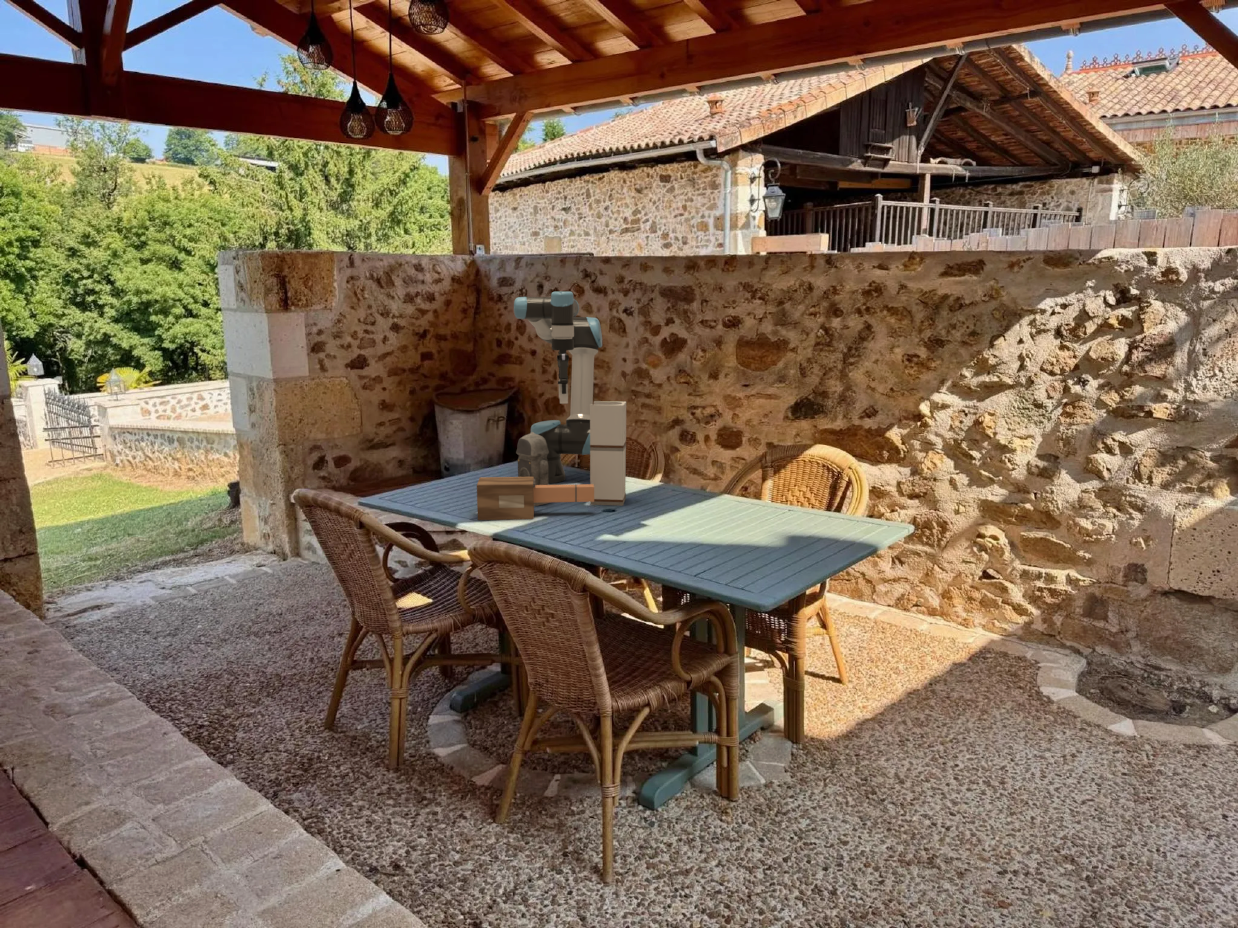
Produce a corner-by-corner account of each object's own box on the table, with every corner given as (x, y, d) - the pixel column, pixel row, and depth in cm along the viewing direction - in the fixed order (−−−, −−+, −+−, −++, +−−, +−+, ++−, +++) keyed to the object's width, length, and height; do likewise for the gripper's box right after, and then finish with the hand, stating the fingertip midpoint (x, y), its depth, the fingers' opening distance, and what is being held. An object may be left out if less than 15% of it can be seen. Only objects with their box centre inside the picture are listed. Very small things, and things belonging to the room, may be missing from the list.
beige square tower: (625, 498, 297) (626, 401, 290) (622, 505, 286) (623, 405, 279) (594, 497, 298) (594, 401, 291) (590, 504, 287) (590, 404, 280)
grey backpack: (535, 507, 282) (534, 436, 277) (511, 500, 293) (510, 431, 288) (557, 503, 289) (557, 433, 284) (533, 496, 299) (532, 428, 294)
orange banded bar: (518, 499, 275) (518, 485, 274) (593, 498, 277) (593, 484, 276) (518, 502, 271) (517, 487, 270) (594, 501, 273) (594, 486, 272)
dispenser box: (480, 510, 278) (479, 477, 276) (535, 509, 280) (535, 476, 278) (477, 520, 266) (476, 485, 264) (535, 519, 268) (534, 484, 266)
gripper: (550, 336, 290) (551, 396, 294) (552, 340, 265) (552, 405, 270) (572, 336, 290) (572, 395, 295) (575, 340, 266) (575, 405, 270)
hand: (563, 400), depth 282 cm, fingers open, 13 cm apart
